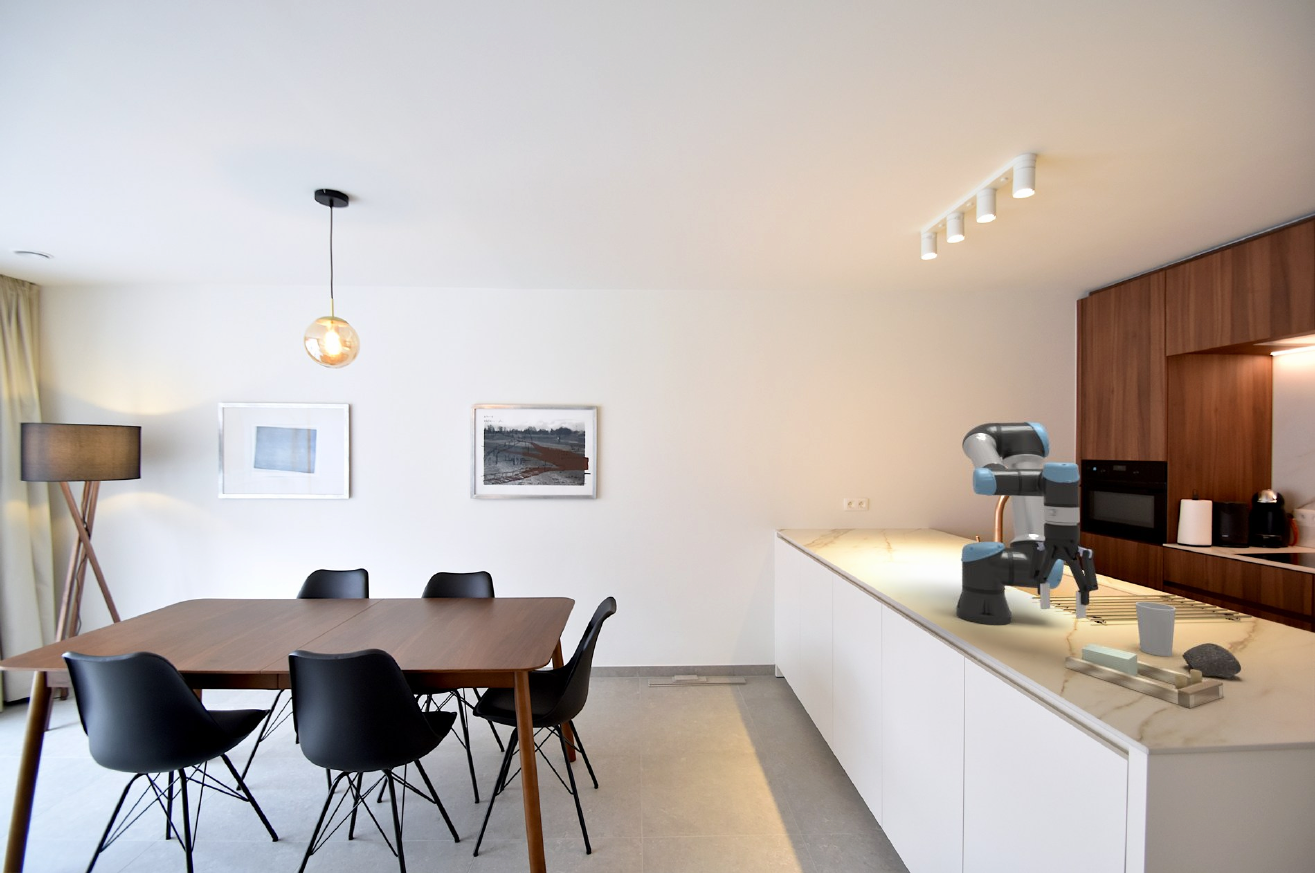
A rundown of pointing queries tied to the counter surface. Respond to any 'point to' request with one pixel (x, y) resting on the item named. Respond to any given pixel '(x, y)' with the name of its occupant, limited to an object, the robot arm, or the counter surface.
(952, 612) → the counter surface
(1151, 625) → the cup
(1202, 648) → the stone
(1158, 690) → the wooden u-shaped frame
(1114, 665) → the block
